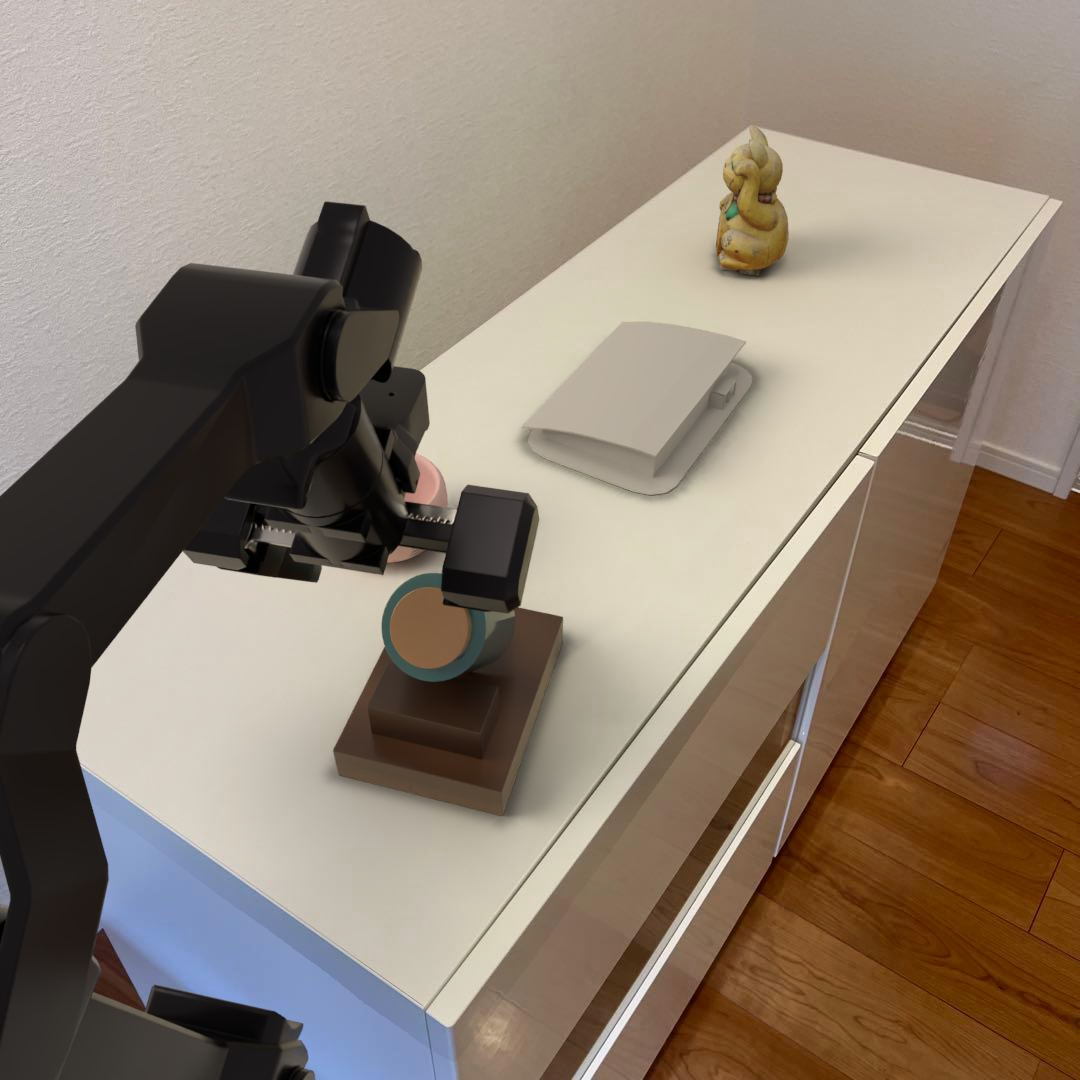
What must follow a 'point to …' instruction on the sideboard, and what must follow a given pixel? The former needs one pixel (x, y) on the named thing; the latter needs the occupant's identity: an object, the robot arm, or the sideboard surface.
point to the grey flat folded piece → (642, 405)
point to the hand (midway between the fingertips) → (389, 586)
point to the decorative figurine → (752, 209)
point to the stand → (453, 722)
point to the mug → (423, 499)
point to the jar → (441, 632)
